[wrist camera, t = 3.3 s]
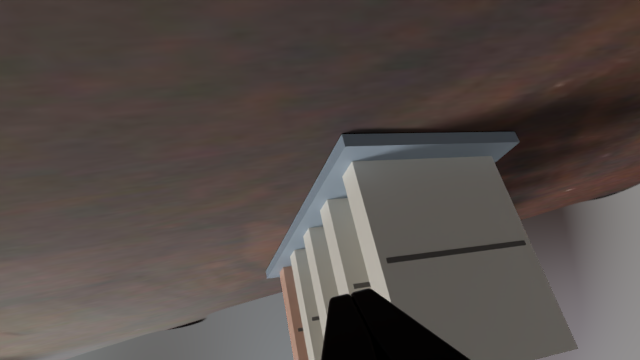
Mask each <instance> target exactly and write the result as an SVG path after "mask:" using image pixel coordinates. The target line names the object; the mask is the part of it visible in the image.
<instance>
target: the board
mask: <svg viewBox="0 0 640 360" xmlns="http://www.w3.org/2000/svg"><path fill="white" fill-rule="evenodd" d="M519 142H520V141H519V139H518V137H517V135H516V133H515V132H455V133H388V134H342V135H341V136H340V138H339V140H338V142H337V144H336V145H335V147H334V149H333V151H332V153H331V154H330V156H329V158H328V160H327V162H326V163H325V165H324V167H323V169H322V171H321V173H320V174H319V176H318V178H317V180H316V182H315V183H314V185H313V187H312V189H311V191H310V192H309V194H308V196H307V198H306V200H305V201H304V203H303V205H302V207H301V209H300V210H299V212H298V214H297V216H296V218H295V219H294V221H293V223H292V225H291V227H290V229H289V230H288V232H287V234H286V236H285V238H284V239H283V241H282V243H281V245H280V247H279V248H278V250H277V252H276V254H275V256H274V257H273V259H272V261H271V263H270V265H269V266H268V268H267V270H266V274H267V278H274V277H280V271H281V270H282V268H283V267H289V266H292V265H291V259H290V256H291V254H292V253H293V251H294V250H298V249H306V248H305V243H304V238H303V236H304V234H305V233H306V231H307V230H308V228H314V227H323V223H322V218H321V214H320V210H321V208H322V207H323V205H324V204H325V202H326V201H327V200H328V199H342V198H348V197H347V193H346V189H345V186H344V182H343V178H342V176H343V175H344V173H345V171H346V170H347V168H348V167H349V165H350V164H351V162H352V161H374V160H399V159H425V158H451V157H476V156H492V158H493V160H494V163H495V162H496V161H497V160H499V159H500V158H501V157H502V156H504V155H505V154H506V153H507V152H508V151H510V150H511V149H512V148H513V147H514V146H516V145H517V144H518V143H519Z"/></svg>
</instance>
